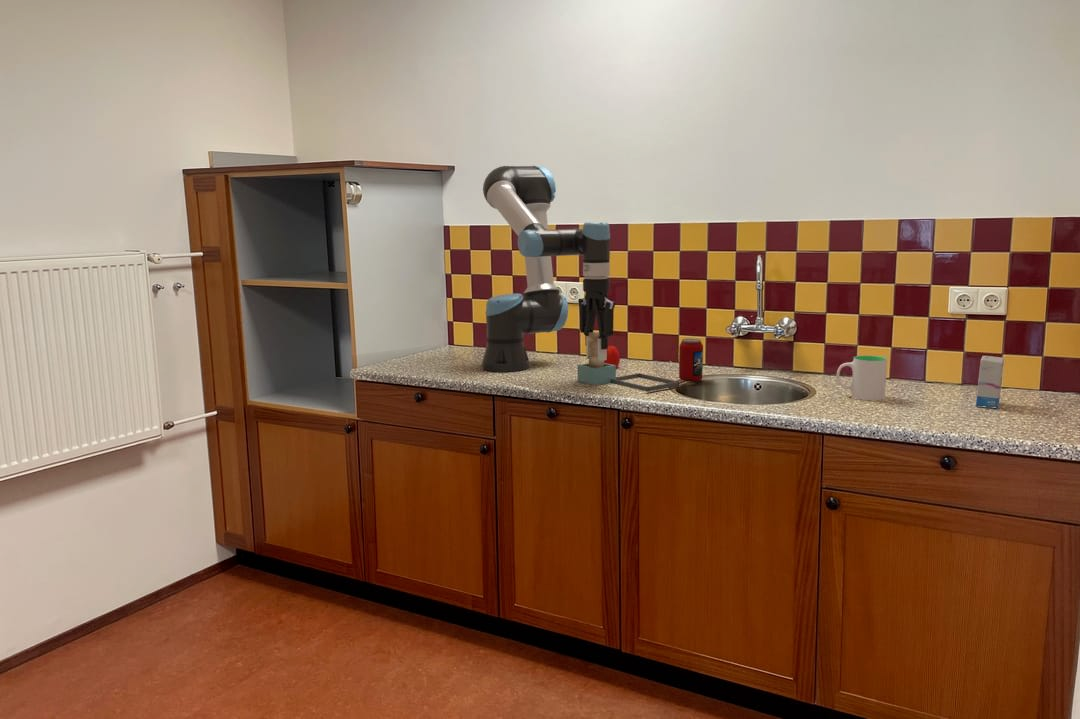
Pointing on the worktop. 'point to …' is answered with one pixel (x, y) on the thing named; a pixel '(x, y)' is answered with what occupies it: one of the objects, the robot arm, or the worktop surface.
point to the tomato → (612, 356)
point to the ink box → (989, 381)
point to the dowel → (594, 351)
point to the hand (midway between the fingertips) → (596, 359)
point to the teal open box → (596, 374)
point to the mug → (867, 377)
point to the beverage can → (691, 360)
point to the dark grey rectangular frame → (668, 384)
